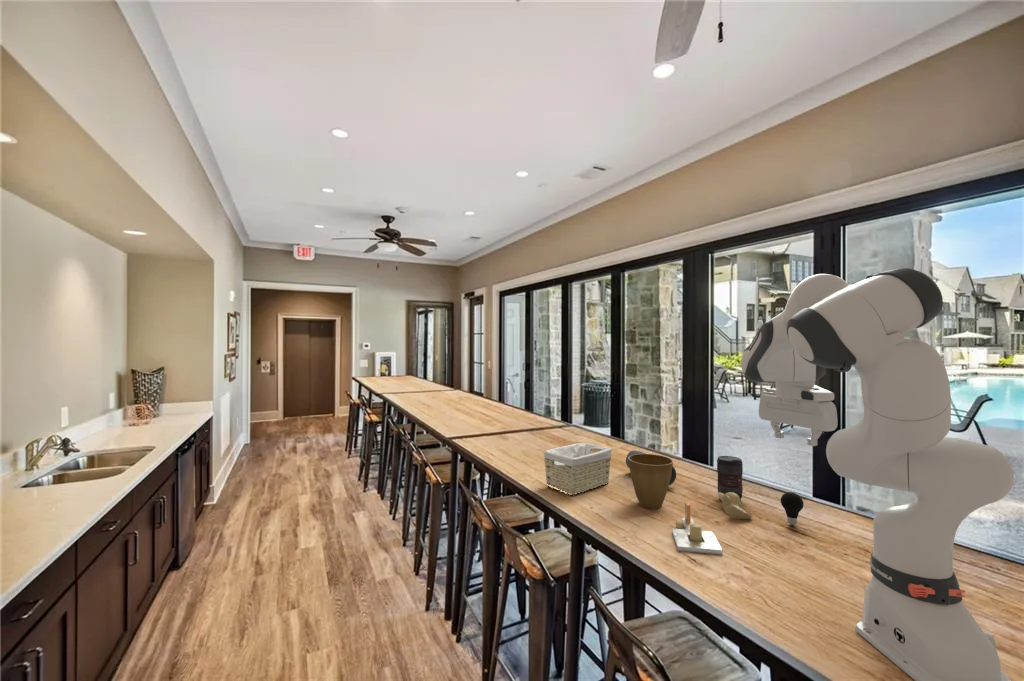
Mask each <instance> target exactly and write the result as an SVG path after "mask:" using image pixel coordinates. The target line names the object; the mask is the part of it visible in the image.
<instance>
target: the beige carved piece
mask: <svg viewBox="0 0 1024 681" xmlns="http://www.w3.org/2000/svg"><path fill="white" fill-rule="evenodd" d="M717 495H718V498H719V500H720V499H721V500H722V501H721V500H720V501H721V504H722V509H723V511H724V513H725V514H727V515H728V516H729V518H730V519H735V520H750V519H752V518H753V515H752V514H749V513H748V512H747V511H746V510H744V509H743V508H742V507H743V504H742V501H741V502H740V498H739V496H738V495H737V494H736V493H733V492H728V493H725V494H723V493H721V492H719V493H718V492H717Z"/></svg>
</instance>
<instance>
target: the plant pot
mask: <svg viewBox="0 0 1024 681" xmlns="http://www.w3.org/2000/svg"><path fill="white" fill-rule="evenodd" d="M628 461H629V467H630V468H629V467H628V468H629V472H630V477H631V481H632V485H633V489H634V492H635V496H636V498H637V501H638V503H639V505H640V506H641V505H642V506H641V507H643V506H644V507H643V508H646V507H647V508H646V509H651V508H656V509H660V508H661V507H662V506H663V504H664V501H665V499H666V496H667V492H668V489H669V486H670V485H669V482H670V478H671V473H672V466H673V467H674V460H673V459H671V458H670V457H668V456H666V455H665V456H664V455H660V454H652V453H646V454H635V455H631V456H629V457H628ZM659 507H660V508H659Z"/></svg>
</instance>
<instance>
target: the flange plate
mask: <svg viewBox="0 0 1024 681" xmlns="http://www.w3.org/2000/svg"><path fill="white" fill-rule="evenodd" d="M684 513H685V514H684V515H685V516H684V517H681V521H682V522H683V529H677V528H674V527H672V528H671V533H672V537H673V540H674V543H675V546H676V549H677V551H678V552H685V553H687V552H688V553H698V554H700V553H701V554H712V555H721V556H722V555H724V554H723V549H722V548H723V547H722V546H721V544H720V542H719V541H718V538H717V537H716V535H715V533H714V531H711V530H710V531H709V530H702V542H691V541H690V524H696V523H695V521H694V520H693V518H692V517H691V504H690V502H689V501H684Z"/></svg>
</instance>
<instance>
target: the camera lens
mask: <svg viewBox="0 0 1024 681" xmlns="http://www.w3.org/2000/svg"><path fill="white" fill-rule="evenodd" d="M742 460H743V459H742V458H740V457H737V456H734V455H733V456H732V455H719V456H717V460H716V472H717V494H718V493H719V492H721V493H723V494H725V493H728V492H733V493H736V494H737V495H738V496H739V498H740V502H741V503H742V498H743V489H744V488H743V472H744V471H743V469H744V468H743V466H744V465H743V461H742ZM719 500H720V502H722V500H721V499H720V498H719Z"/></svg>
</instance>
